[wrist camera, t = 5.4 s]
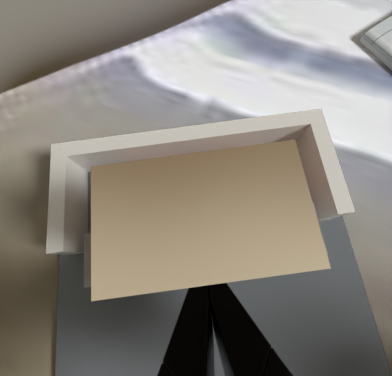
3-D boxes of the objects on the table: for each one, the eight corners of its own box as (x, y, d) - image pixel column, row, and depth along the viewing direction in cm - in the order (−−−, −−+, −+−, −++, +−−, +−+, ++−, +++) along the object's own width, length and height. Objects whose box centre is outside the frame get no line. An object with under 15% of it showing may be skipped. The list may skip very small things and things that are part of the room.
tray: (328, 219, 17) (355, 211, 14) (73, 254, 16) (45, 253, 14) (303, 131, 19) (321, 108, 16) (75, 161, 18) (51, 144, 16)
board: (429, 517, 13) (438, 527, 12) (53, 572, 12) (47, 584, 12) (309, 122, 19) (312, 119, 19) (66, 154, 19) (62, 152, 19)
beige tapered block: (309, 254, 16) (637, 246, 4) (101, 283, 16) (-222, 364, 4) (298, 211, 17) (538, 93, 5) (101, 237, 17) (-164, 185, 5)
